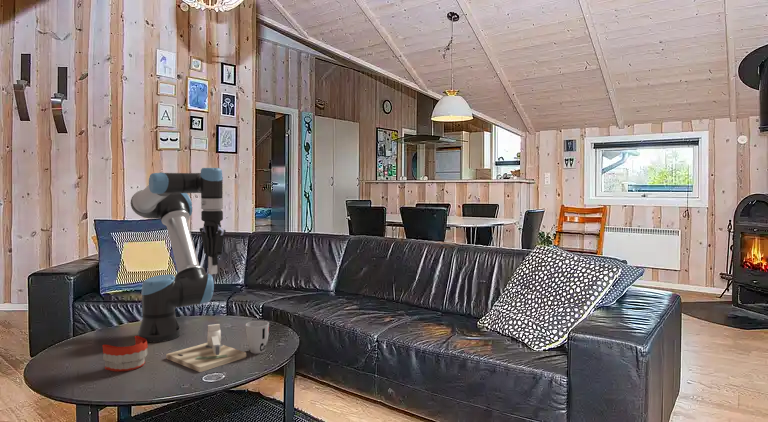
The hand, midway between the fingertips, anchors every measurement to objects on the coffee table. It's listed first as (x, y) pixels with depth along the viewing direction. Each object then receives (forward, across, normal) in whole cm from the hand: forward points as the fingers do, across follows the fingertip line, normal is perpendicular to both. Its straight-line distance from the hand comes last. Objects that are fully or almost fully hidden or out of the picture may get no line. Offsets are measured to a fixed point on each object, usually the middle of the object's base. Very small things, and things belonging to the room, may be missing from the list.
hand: (213, 273), depth 194 cm
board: (+26, +11, -10) cm, 30 cm away
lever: (+24, +11, -7) cm, 28 cm away
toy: (+27, -1, -31) cm, 41 cm away
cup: (+27, +19, +5) cm, 33 cm away
